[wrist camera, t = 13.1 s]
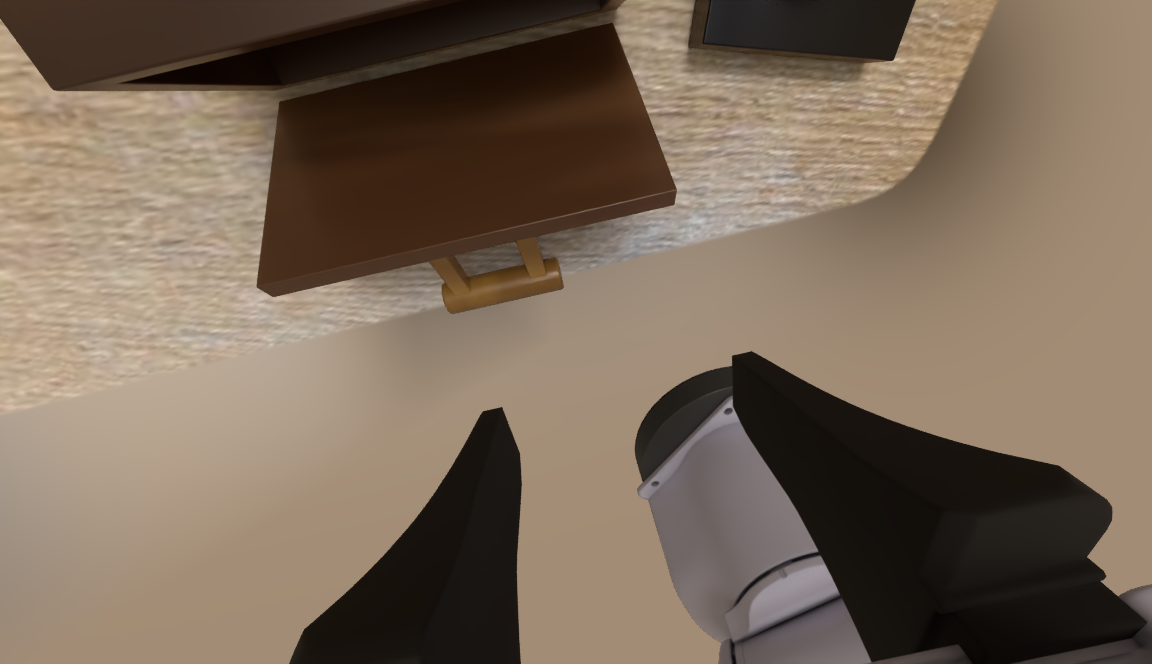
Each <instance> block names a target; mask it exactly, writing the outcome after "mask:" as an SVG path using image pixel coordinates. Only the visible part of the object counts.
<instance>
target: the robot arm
mask: <svg viewBox="0 0 1152 664" xmlns="http://www.w3.org/2000/svg"><path fill="white" fill-rule="evenodd" d="M732 390H733V395H732V396H729V397H727V398H726V399H725V400H724V401H723V402H722V403H721V404H720V405H719V406H718V407H717V408H716V409H715V410H714V411H713V412H712V413H711V414H710V415H709V416H708V417H707V418H706V419H705V420H704V421H703V422H702V423H701V424H700V425H699V426H698V427H697V428H696V429H695V430H694V431H693V432H692V433H691V434H690V435H689V436H688V437H687V438H686V440H685V441H684V442H683V443H682V444H681V445H680V446H679V447H678V448H677V449H676V450H675V451H674V452H673V453H672V454H671V455H670V456H669V457H668V458H667V459H666V460H665V461H664V462H663V463H662V464H661V465H660V466H659V467H658V468H657V469H656V470H655V471H654V472H653V473H652V474H651V475H650V476H649V477H648V478H647V479H646V480H645V481H644V482H643V483H642V484H641V485H640V486H639V487H638V489H637V491H638V495H639V496H640V497H642V498H644V499H647V500H648V501H649V504H650V507H651V511H652V514H653V518H654V521H655V524H656V528H657V531H658V535H659V538H660V542H661V545H662V549H663V552H664V555H665V559H666V562H667V566H668V569H669V572H670V576H671V579H672V582H673V585H674V588H675V590H676V592H677V594H678V596H679V598H680V600H681V601H682V603H683V605H684V606H685V608H686V610H687V611H688V613H689V614H690V616H691V617H692V619H693V620H694V621H695V622H696V623H697V625H699V627H700V628H701V629H702V630H703V631H704V632H706V633H707V634H708V635H709V636H711V637H712V638H714V639H715V640H717V641H719V642H720V643H722V644H721V647H720V652H719V663H718V664H1152V584H1151V585H1146V586H1141V587H1137V588H1134V589H1131V590H1129V591H1127V592H1125V593H1123V594H1121V595H1120V596H1117V595H1115V594H1114V593H1113V592H1112V591H1111V590H1110V589H1109V588H1107V587H1106V586H1105V585H1104V584H1103V583H1102V582H1100V581H1101V580H1104V579H1105V577H1106V575H1105V573H1104V571H1103V570H1102V569H1100V568H1099V567H1098V566H1097V565H1096V564H1095V563H1093V562H1092V561H1091V560H1090V559H1088V558H1087V556H1088V555H1089V553H1090V552H1091V551H1092V549H1093V548H1094V547H1095V545H1096V544H1097V542H1098V541H1099V540H1100V538H1101V537H1102V535H1103V534H1104V533H1105V532H1106V530H1107V528H1108V527H1109V525H1110V523H1111V521H1112V506H1111V505H1110V503H1109V502H1108V500H1107V499H1105V498H1104V497H1102V496H1101V495H1100V494H1098V493H1097V492H1095V491H1094V490H1093V489H1091V488H1090V487H1088V486H1087V485H1086V484H1084V483H1083V482H1081V481H1080V480H1078V479H1077V478H1075V477H1074V476H1073V475H1071V474H1070V473H1069V472H1067V471H1066V470H1064V469H1063V468H1061V467H1060V466H1058V465H1053V464H1048V463H1044V462H1039V461H1035V460H1030V459H1025V458H1021V457H1016V456H1012V455H1007V454H1002V453H998V452H994V451H990V450H985V449H982V448H978V447H975V446H971V445H967V444H963V443H959V442H956V441H952V440H949V439H946V438H942V437H939V436H936V435H932V434H929V433H926V432H923V431H920V430H917V429H914V428H911V427H908V426H905V425H902V424H900V423H897V422H894V421H891V420H889V419H886V418H884V417H881V416H878V415H876V414H874V413H871V412H869V411H866V410H864V409H861V408H859V407H857V406H854V405H852V404H850V403H848V402H846V401H844V400H841V399H839V398H837V397H835V396H833V395H831V394H829V393H827V392H825V391H823V390H821V389H819V388H817V387H815V386H813V385H811V384H809V383H807V382H806V381H804V380H802V379H800V378H798V377H796V376H795V375H793V374H791V373H789V372H787V371H785V370H784V369H782V368H780V367H779V366H777V365H775V364H774V363H772V362H770V361H768V360H767V359H765V358H763V357H761V356H759V355H758V354H756V353H754V352H752V351H751V352H747V353H742V354H738V355H733V356H732ZM727 408H729V409H728V410H726V409H727ZM521 486H522V481H521V463H520V453H519V450H518V447H517V445H516V442H515V440H514V437H513V434H512V432H511V430H510V427H509V424H508V421H507V419H506V416H505V414H504V411H503V408H502V407H501V408H496V409H492V410H487V411H483V412H482V414H481V415H480V417H479V419H478V421H477V422H476V424H475V426H474V428H473V430H472V432H471V434H470V435H469V437H468V439H467V441H466V443H465V445H464V447H463V448H462V450H461V452H460V453H459V455H458V457H457V458H456V460H455V462H454V464H453V465H452V467H451V469H450V470H449V472H448V473H447V475H446V476H445V478H444V479H443V481H442V483H441V484H440V486H439V487H438V489H437V490H436V492H435V493H434V495H433V496H432V497H431V499H430V500H429V502H428V503H427V504H426V506H425V507H424V508H423V510H422V511H421V512H420V514H419V515H418V516H417V518H416V519H415V520H414V522H413V523H412V524H411V525H410V526H409V528H408V529H407V530H406V531H405V532H404V533H403V534H402V535H401V537H400V538H399V539H398V540H397V541H396V542H395V543H394V545H393V546H392V547H391V548H390V549H389V550H388V551H387V552H386V554H385V555H384V556H383V557H382V558H381V559H380V560H379V561H378V562H377V563H376V564H375V565H374V566H373V567H372V568H371V569H370V570H369V571H368V572H367V573H366V574H365V575H364V576H363V577H362V578H361V579H360V580H359V581H358V582H357V583H356V584H355V585H354V586H353V587H352V588H351V589H350V590H348V591H347V592H346V593H345V594H344V595H343V596H342V597H341V598H340V599H339V600H337V601H336V602H335V603H334V604H333V605H332V606H331V607H329V608H328V609H327V610H326V611H325V612H324V613H323V614H322V615H320V616H319V617H318V618H317V619H316V620H315V621H314V622H312V623H311V624H310V625H309V626H308V627H307V628H305V629H304V631H303V633H302V635H301V637H300V639H299V642H298V644H297V646H296V648H295V651H294V653H293V656H292V658H291V660H290V663H289V664H521V661H520V644H519V622H518V599H517V598H518V597H517V549H518V534H519V519H520V504H521Z"/></svg>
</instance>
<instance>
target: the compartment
mask: <svg viewBox="0 0 1152 664" xmlns="http://www.w3.org/2000/svg"><path fill="white" fill-rule="evenodd" d="M624 1H625V0H0V19H1V20H2V22H3V23H4V24H5V26H6V27H7V28H8V30H9V31H10V32H11V34H12V35H13V37H14V38H15V39H16V41H17V42H18V43H19V45H20V46H21V47H22V49H23V50H24V52H25V53H26V54H27V56H28V57H29V58H30V60H31V61H32V62H33V64H34V65H35V67H36V68H37V69H38V71H39V72H40V73H41V75H42V76H43V77H44V79H45V80H46V82H47V83H48V84H49V86H50V87H51V88H52V89H53V90H55V91H262V90H265V91H274V90H278V89H283V88H287V87H291V86H295V85H299V84H304V83H308V82H312V81H316V80H320V79H325V78H329V77H333V76H337V75H341V74H346V73H350V72H354V71H358V70H362V69H367V68H371V67H375V66H379V65H383V64H388V63H392V62H396V61H400V60H404V59H409V58H413V57H417V56H421V55H425V54H430V53H434V52H438V51H442V50H446V49H451V48H455V47H459V46H463V45H467V44H472V43H476V42H480V41H484V40H488V39H493V38H497V37H501V36H505V35H509V34H514V33H518V32H522V31H526V30H530V29H535V28H539V27H543V26H547V25H551V24H556V23H560V22H564V21H568V20H572V19H577V18H581V17H585V16H589V15H593V14H598V13H602V12H606V11H610V10H614V9H617V8H618V7H619V6H620V5H621V4H622V3H623V2H624Z"/></svg>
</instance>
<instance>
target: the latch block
mask: <svg viewBox="0 0 1152 664" xmlns="http://www.w3.org/2000/svg"><path fill="white" fill-rule="evenodd" d="M915 1H916V0H696V5H695V11H694V17H693V23H692V30H691V36H690V42H689V48H694V49H706V50H717V51H729V52H741V53H752V54H764V55H775V56H787V57H799V58H810V59H822V60H834V61H845V62H857V63H873V62H885V61H893V60H894V58H895V55H896V53H897V50H898V47H899V44H900V42H901V39H902V36H903V33H904V31H905V28H906V25H907V23H908V20H909V17H910V14H911V12H912V9H913V6H914V3H915Z"/></svg>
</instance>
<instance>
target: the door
mask: <svg viewBox="0 0 1152 664" xmlns="http://www.w3.org/2000/svg"><path fill="white" fill-rule="evenodd" d="M676 192H677V189H676V187H675V184H674V181H673V179H672V176H671V173H670V171H669V168H668V166H667V163H666V160H665V158H664V155H663V153H662V150H661V147H660V145H659V142H658V139H657V137H656V134H655V132H654V129H653V126H652V124H651V121H650V119H649V116H648V113H647V111H646V108H645V105H644V103H643V100H642V98H641V95H640V92H639V90H638V87H637V84H636V82H635V79H634V77H633V74H632V71H631V69H630V66H629V64H628V61H627V58H626V56H625V53H624V50H623V48H622V45H621V43H620V40H619V37H618V35H617V32H616V30H615V27H614V24H613V23H609V24H605V25H601V26H596V27H592V28H588V29H584V30H579V31H575V32H571V33H567V34H563V35H558V36H554V37H550V38H546V39H542V40H537V41H533V42H529V43H525V44H521V45H516V46H512V47H508V48H504V49H500V50H495V51H491V52H487V53H483V54H479V55H474V56H470V57H466V58H462V59H457V60H453V61H449V62H445V63H441V64H436V65H432V66H428V67H424V68H420V69H415V70H411V71H407V72H403V73H399V74H394V75H390V76H386V77H382V78H378V79H373V80H369V81H365V82H361V83H357V84H352V85H348V86H344V87H340V88H335V89H331V90H327V91H323V92H319V93H314V94H310V95H306V96H302V97H298V98H293V99H289V100H285V101H281V102H279V110H278V118H277V126H276V134H275V142H274V150H273V158H272V166H271V174H270V182H269V190H268V198H267V206H266V214H265V222H264V230H263V238H262V246H261V254H260V262H259V270H258V278H257V288H259V289H260V290H262V291H264V292H265V293H267V294H269V295H270V296H272V297H276V296H280V295H284V294H289V293H293V292H298V291H302V290H306V289H311V288H315V287H319V286H324V285H328V284H332V283H337V282H341V281H345V280H350V279H354V278H358V277H363V276H367V275H371V274H376V273H380V272H384V271H389V270H393V269H398V268H402V267H406V266H411V265H415V264H419V263H424V262H428V261H429V263H430V264H431V265H432V266H433V268H434V269H435V270H436V271H437V273H438V274H439V275H440V277H441V278H442V279H443V280H444V283H443V284H442V297H443V301H444V304H445V306H446V308H447V310H448V311H449V312H450V313H451V314H455V313H460V312H464V311H469V310H473V309H477V308H481V307H486V306H491V305H495V304H499V303H503V302H508V301H513V300H517V299H521V298H526V297H530V296H534V295H539V294H543V293H548V292H552V291H556V290H561V289H563V287H564V286H563V281H562V276H561V272H560V267H559V263H558V259H557V258H556V257H553V258H548V259H543V256H542V253H541V250H540V247H539V244H538V241H537V236H541V235H545V234H550V233H554V232H558V231H563V230H567V229H571V228H576V227H580V226H584V225H589V224H593V223H598V222H602V221H606V220H611V219H615V218H619V217H624V216H628V215H632V214H637V213H641V212H645V211H650V210H654V209H658V208H663V207H667V206H671V205H674V204H675V198H676ZM515 241H516V244H517V246H518V249H519V251H520V254H521V256H522V259H523V261H524V264H522V265H518V266H514V267H509V268H505V269H500V270H496V271H492V272H487V273H483V274H479V275H474V276H470V277H468V276H467V274H466V273H465V271H464V270H463V268H462V267H461V265H460V264H459V262H458V261H457V259H456V258H455V256H454V255H458V254H463V253H467V252H471V251H476V250H480V249H484V248H489V247H493V246H498V245H502V244H506V243H511V242H515Z"/></svg>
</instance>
